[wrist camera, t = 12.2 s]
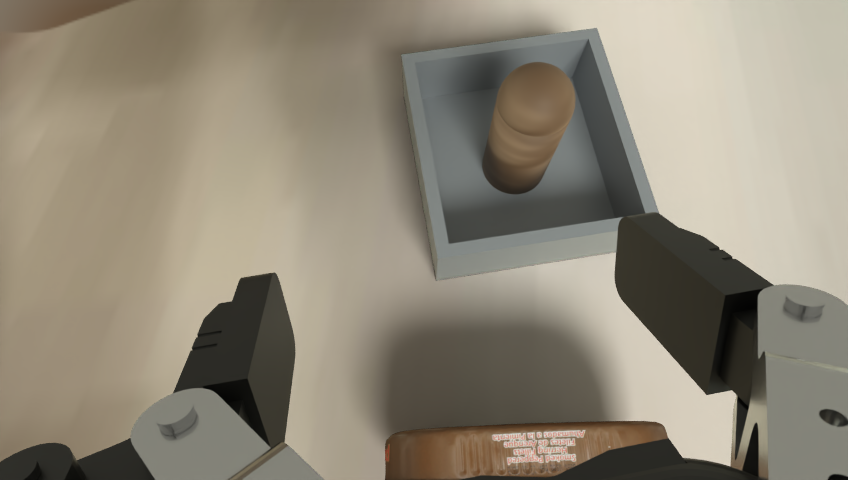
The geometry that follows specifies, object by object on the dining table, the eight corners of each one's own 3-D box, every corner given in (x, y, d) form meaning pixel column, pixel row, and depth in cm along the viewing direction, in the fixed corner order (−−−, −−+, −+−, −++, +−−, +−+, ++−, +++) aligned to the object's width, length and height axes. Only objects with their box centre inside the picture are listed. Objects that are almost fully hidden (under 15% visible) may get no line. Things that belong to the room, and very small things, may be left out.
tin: (388, 482, 31) (376, 503, 23) (388, 426, 32) (376, 428, 24) (639, 474, 31) (713, 492, 23) (631, 418, 32) (699, 418, 24)
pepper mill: (488, 198, 36) (511, 120, 27) (477, 143, 38) (494, 50, 28) (550, 189, 36) (594, 108, 27) (536, 135, 38) (573, 39, 28)
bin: (436, 280, 35) (437, 258, 30) (404, 97, 40) (401, 54, 35) (631, 249, 36) (662, 223, 31) (576, 73, 40) (596, 27, 36)
